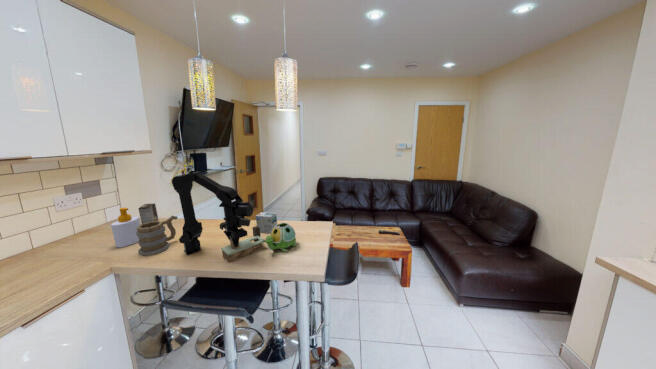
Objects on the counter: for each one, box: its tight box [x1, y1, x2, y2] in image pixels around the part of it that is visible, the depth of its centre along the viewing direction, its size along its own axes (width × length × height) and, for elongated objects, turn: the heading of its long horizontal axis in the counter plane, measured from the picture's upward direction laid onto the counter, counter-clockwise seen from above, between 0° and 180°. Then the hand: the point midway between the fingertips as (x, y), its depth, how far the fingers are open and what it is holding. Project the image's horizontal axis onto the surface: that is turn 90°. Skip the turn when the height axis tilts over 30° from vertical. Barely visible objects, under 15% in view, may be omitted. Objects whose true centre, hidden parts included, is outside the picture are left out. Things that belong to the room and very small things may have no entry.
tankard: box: [136, 215, 178, 256], centre depth 128 cm, size 20×13×15 cm, turn 147°
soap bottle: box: [110, 207, 142, 248], centre depth 134 cm, size 13×8×20 cm, turn 161°
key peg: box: [252, 225, 261, 242], centre depth 132 cm, size 3×3×8 cm
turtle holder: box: [264, 222, 297, 253], centre depth 123 cm, size 12×18×12 cm
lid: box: [220, 235, 266, 255], centre depth 120 cm, size 19×8×5 cm, turn 134°
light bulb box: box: [255, 211, 278, 234], centre depth 145 cm, size 11×7×11 cm, turn 74°
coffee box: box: [137, 203, 160, 224], centre depth 152 cm, size 9×6×16 cm
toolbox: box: [221, 243, 265, 263], centre depth 121 cm, size 18×8×4 cm, turn 134°
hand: (235, 245), depth 117 cm, fingers closed on lid, 3 cm apart
